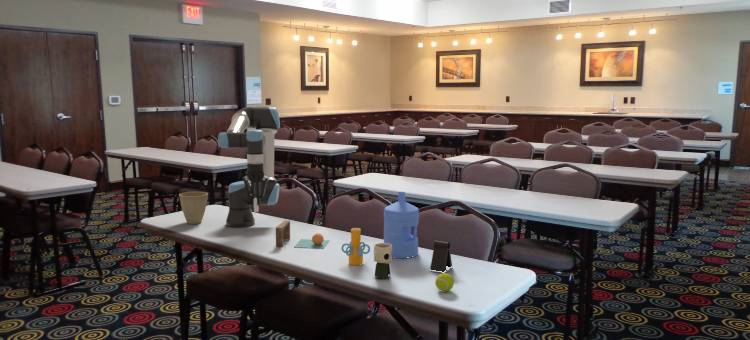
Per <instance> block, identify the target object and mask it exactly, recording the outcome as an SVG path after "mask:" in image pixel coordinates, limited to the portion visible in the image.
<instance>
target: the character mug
mask: <svg viewBox="0 0 750 340" xmlns="http://www.w3.org/2000/svg"><path fill="white" fill-rule="evenodd" d="M391 253H392V245H391V244H388V243H384V242H378V243H375V244H373V261H374V262H376V264H375V269H374V277H377V278H379V279H388V278H389V277H391V276H392V275H391V266H390V263H391V262H392V260H393V258H392V255H391Z"/></svg>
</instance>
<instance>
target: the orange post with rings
mask: <svg viewBox="0 0 750 340" xmlns="http://www.w3.org/2000/svg"><path fill="white" fill-rule="evenodd" d="M361 231H362V229H361V228H359V227H352V228H351V229H350V242H349V243H343V244H342V245H341V248H340V250H341V251H342V252H343V253H344V254H346V256H348V265H350V264H351V266H360V264H361V265H363V264H364V263H363V262H364V261H363V259H364V255H367V254H369V253H370V252H371V247H370V245H368V244H367V243H365V242H364V241H362V239H361V236H362V235H361V234H362V233H361ZM344 247H346V248H345V249H344ZM366 247H367V248H368V249H367V251H365V250H366ZM362 263H363V264H362Z"/></svg>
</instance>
